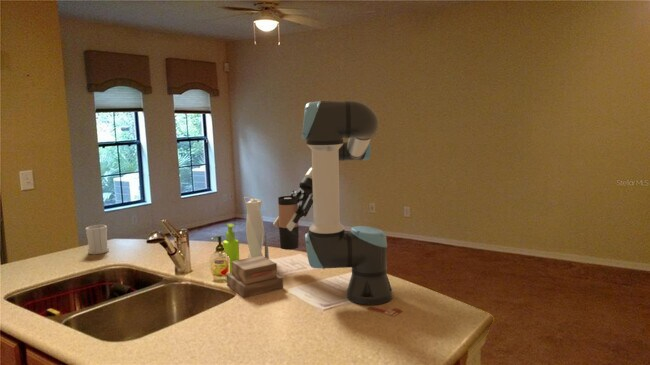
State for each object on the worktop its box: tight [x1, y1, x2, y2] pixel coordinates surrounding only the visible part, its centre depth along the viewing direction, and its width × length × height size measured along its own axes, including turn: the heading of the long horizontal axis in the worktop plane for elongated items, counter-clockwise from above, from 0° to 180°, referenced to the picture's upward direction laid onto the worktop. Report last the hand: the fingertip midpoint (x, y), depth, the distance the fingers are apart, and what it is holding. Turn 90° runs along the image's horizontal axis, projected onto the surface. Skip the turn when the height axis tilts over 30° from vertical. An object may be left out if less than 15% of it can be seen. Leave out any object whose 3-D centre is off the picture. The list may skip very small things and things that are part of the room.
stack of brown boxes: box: [226, 255, 284, 299], centre depth 167 cm, size 15×15×9 cm
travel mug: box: [277, 195, 300, 250], centre depth 183 cm, size 8×8×20 cm
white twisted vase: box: [243, 196, 270, 260], centre depth 197 cm, size 8×8×28 cm
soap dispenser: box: [222, 222, 240, 274], centre depth 181 cm, size 6×7×20 cm
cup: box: [85, 224, 110, 255], centre depth 217 cm, size 10×9×12 cm
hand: (281, 227), depth 181 cm, fingers closed on travel mug, 7 cm apart
